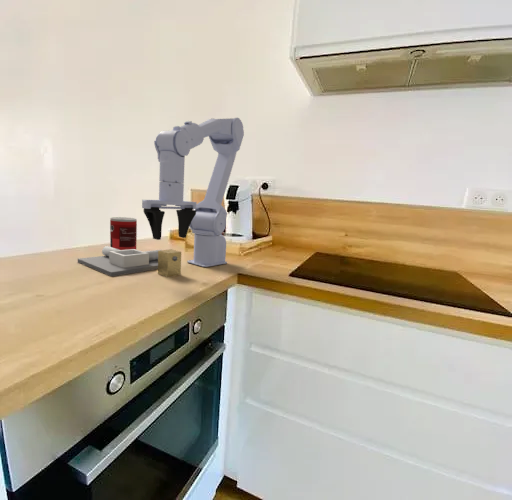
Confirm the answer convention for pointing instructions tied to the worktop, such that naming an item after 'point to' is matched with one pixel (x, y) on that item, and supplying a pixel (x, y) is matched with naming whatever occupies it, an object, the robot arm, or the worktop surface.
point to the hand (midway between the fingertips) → (170, 238)
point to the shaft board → (122, 261)
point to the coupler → (169, 263)
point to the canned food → (123, 233)
